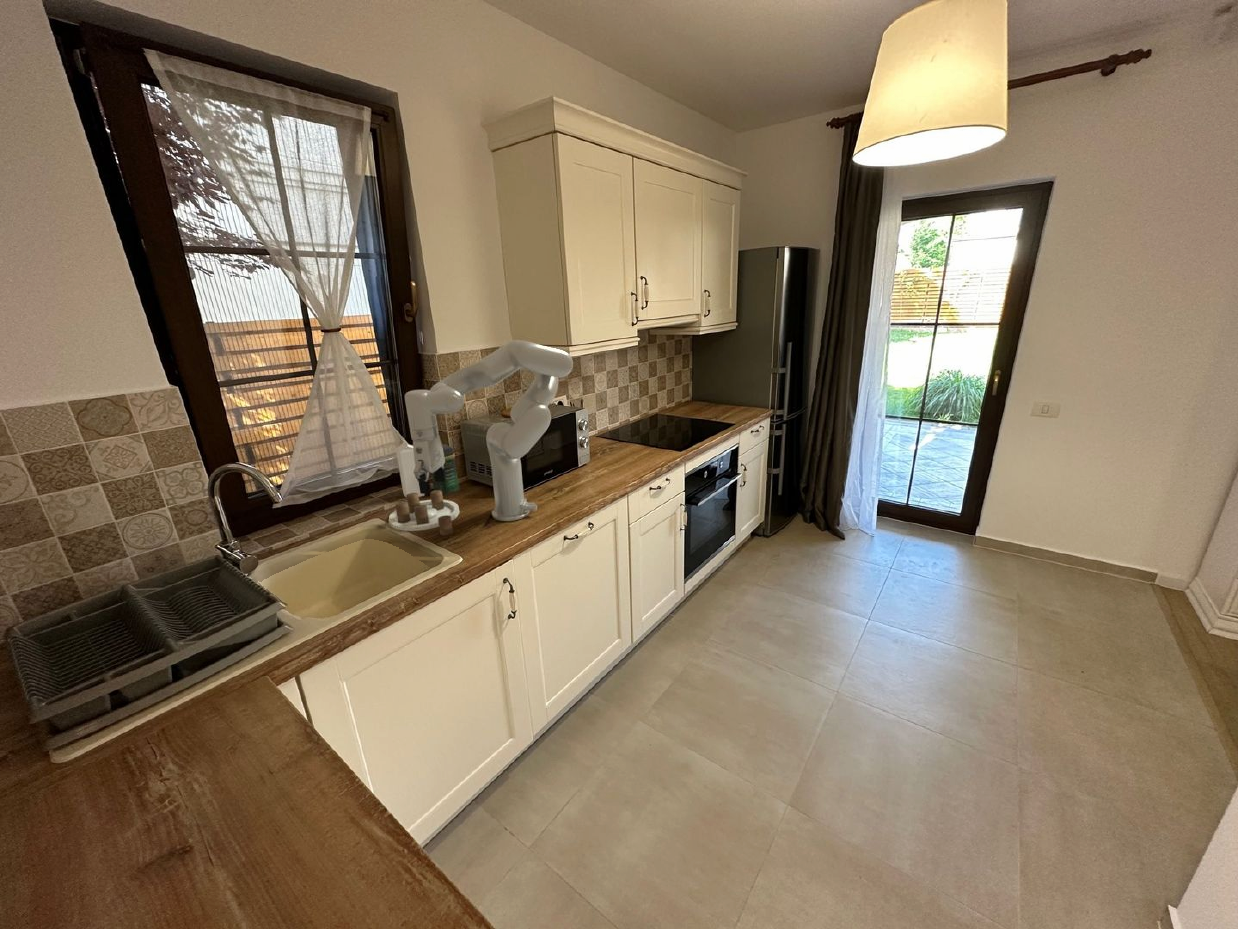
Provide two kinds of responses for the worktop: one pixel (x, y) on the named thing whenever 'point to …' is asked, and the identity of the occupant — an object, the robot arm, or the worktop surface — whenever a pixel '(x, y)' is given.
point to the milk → (407, 469)
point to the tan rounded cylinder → (445, 525)
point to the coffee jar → (448, 473)
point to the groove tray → (433, 515)
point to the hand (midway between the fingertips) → (433, 487)
